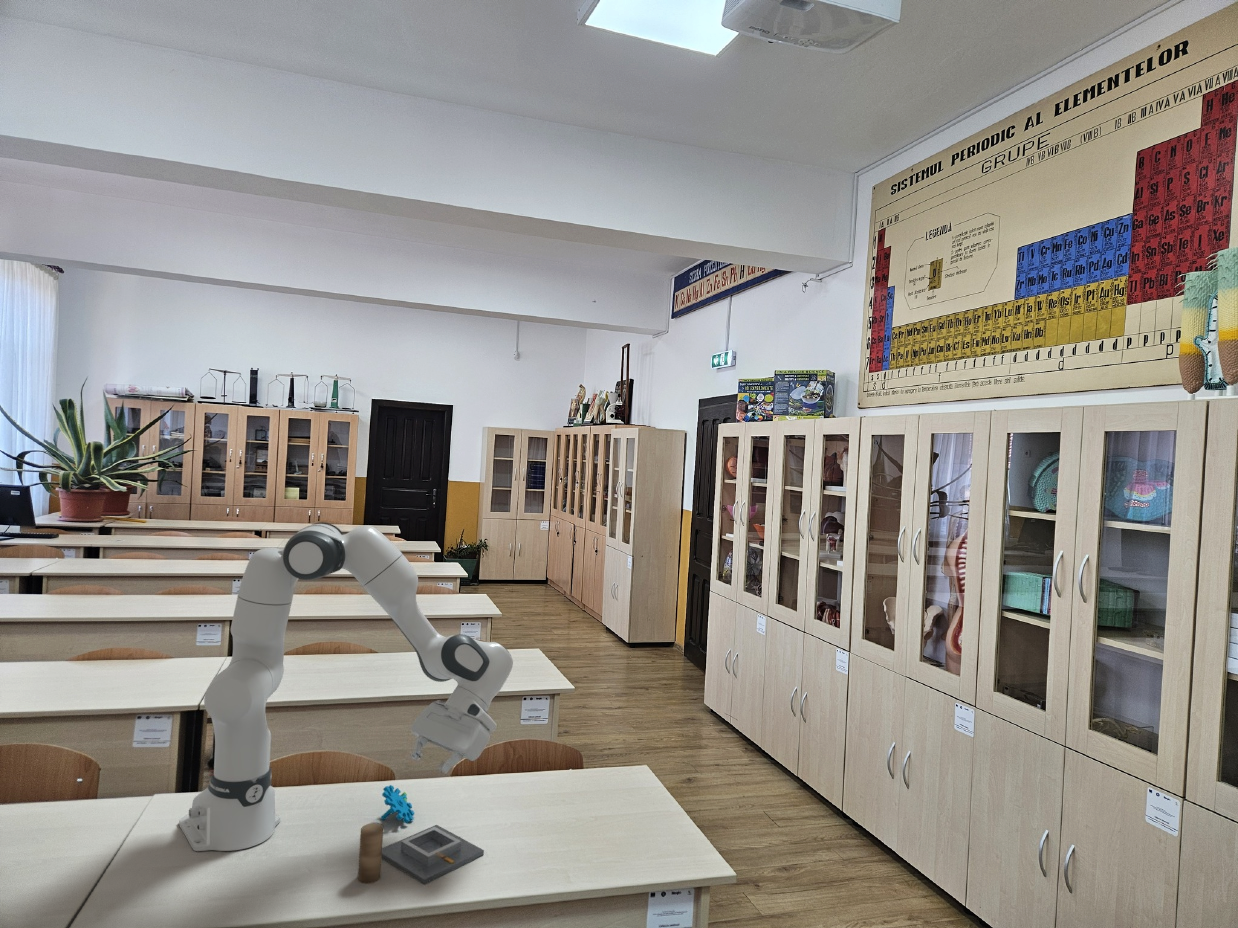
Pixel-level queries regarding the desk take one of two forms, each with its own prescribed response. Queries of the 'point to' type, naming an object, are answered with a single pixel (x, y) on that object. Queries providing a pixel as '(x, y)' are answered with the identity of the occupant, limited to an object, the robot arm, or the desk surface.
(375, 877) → the pin
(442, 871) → the square frame on plate
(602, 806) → the desk surface
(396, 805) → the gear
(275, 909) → the desk surface
